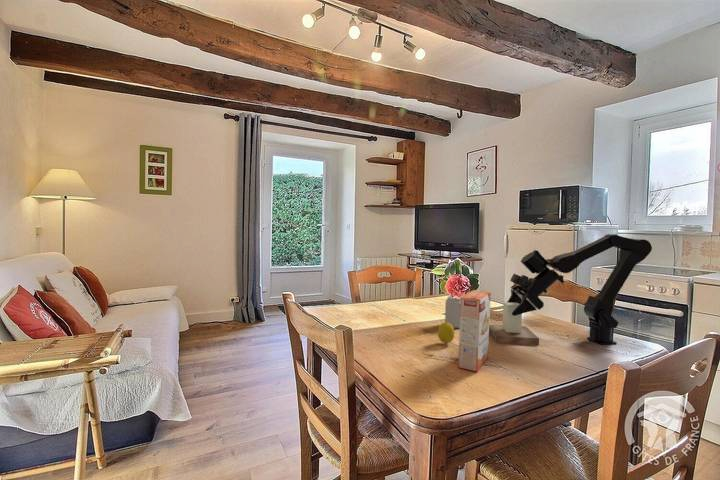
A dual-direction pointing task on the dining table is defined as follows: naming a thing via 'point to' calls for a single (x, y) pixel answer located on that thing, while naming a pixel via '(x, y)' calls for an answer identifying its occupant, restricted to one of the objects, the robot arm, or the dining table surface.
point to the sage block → (511, 318)
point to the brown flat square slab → (513, 336)
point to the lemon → (446, 332)
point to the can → (453, 311)
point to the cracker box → (474, 330)
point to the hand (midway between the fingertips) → (508, 311)
